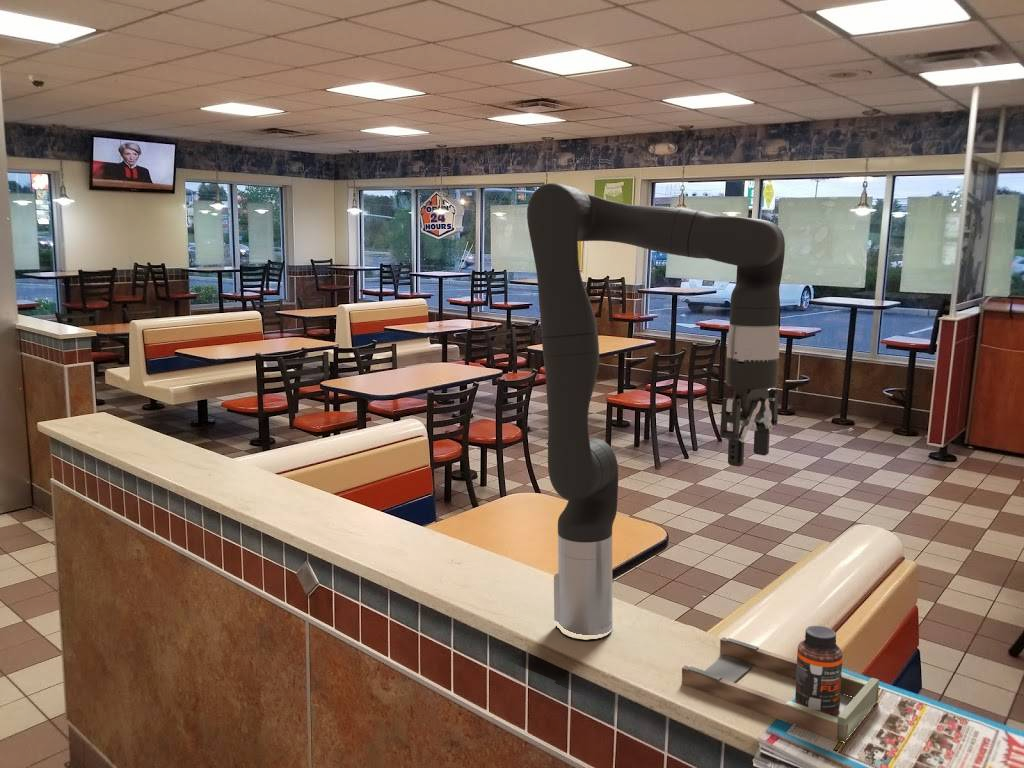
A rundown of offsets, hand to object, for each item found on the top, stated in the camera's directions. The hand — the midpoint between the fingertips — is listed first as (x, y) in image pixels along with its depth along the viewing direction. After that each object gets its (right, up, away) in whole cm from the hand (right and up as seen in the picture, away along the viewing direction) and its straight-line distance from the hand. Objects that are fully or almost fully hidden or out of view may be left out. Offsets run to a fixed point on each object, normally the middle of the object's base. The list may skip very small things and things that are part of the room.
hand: (748, 459), depth 124 cm
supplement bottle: (+7, -34, -10) cm, 36 cm away
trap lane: (+2, -34, -6) cm, 34 cm away
